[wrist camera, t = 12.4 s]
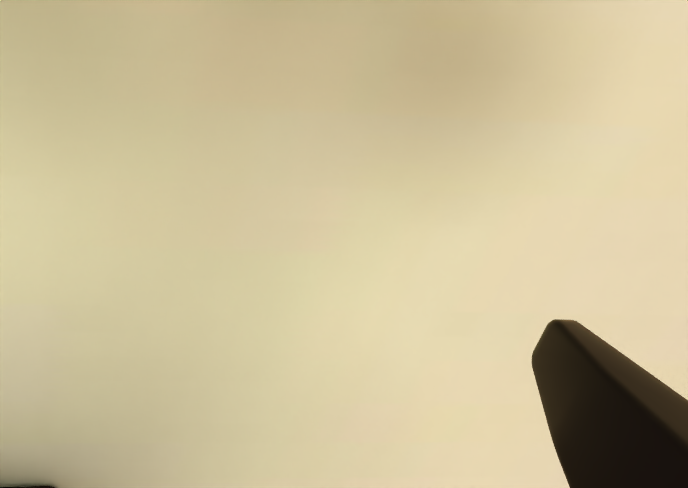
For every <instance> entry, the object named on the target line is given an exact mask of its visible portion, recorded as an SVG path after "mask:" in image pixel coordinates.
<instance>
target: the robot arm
mask: <svg viewBox="0 0 688 488" xmlns="http://www.w3.org/2000/svg"><path fill="white" fill-rule="evenodd" d="M532 368H533V371H534V375H535V379H536V382H537V386H538V390H539V393H540V397H541V401H542V404H543V408H544V412H545V415H546V419H547V423H548V426H549V430H550V434H551V437H552V440H553V443H554V447H555V449H556V452H557V455H558V458H559V461H560V463H561V466H562V468H563V471H564V474H565V476H566V479H567V481H568V484H569V487H570V488H688V400H686V399H685V398H684V397H682V396H681V395H679V394H678V393H677V392H675V391H674V390H672V389H671V388H670V387H668V386H667V385H665V384H664V383H663V382H661V381H660V380H658V379H657V378H656V377H654V376H653V375H651V374H650V373H649V372H647V371H646V370H644V369H643V368H642V367H640V366H639V365H637V364H636V363H635V362H633V361H632V360H630V359H629V358H628V357H626V356H625V355H623V354H622V353H620V352H619V351H618V350H616V349H615V348H613V347H612V346H611V345H609V344H608V343H606V342H605V341H604V340H602V339H601V338H599V337H598V336H597V335H595V334H594V333H592V332H591V331H590V330H588V329H587V328H585V327H584V326H583V325H581V324H580V323H578V322H577V321H574V320H552V321H551V322H550V323H548V325H547V327H546V328H545V330H544V332H543V334H542V336H541V338H540V340H539V342H538V344H537V345H536V347H535V349H534V351H533V354H532ZM1 488H54V487H51V486H29V487H1Z"/></svg>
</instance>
